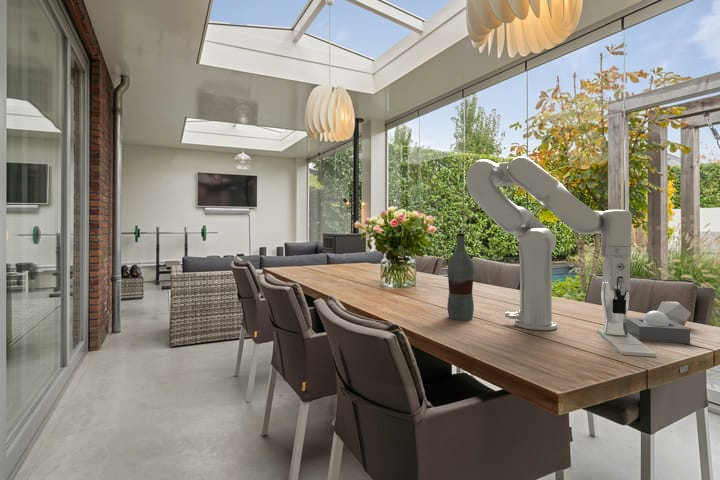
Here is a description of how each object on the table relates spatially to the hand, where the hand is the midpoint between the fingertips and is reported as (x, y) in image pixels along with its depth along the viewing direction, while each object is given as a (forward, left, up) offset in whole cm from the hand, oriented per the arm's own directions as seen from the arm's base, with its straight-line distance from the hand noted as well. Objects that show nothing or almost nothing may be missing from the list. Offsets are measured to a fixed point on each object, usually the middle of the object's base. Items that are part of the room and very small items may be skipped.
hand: (613, 309), depth 121 cm
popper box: (+11, +2, -8) cm, 14 cm away
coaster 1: (0, 0, -8) cm, 8 cm away
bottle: (-45, +12, -8) cm, 47 cm away
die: (+21, +18, -8) cm, 29 cm away
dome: (+11, +2, -6) cm, 13 cm away
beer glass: (0, -1, -7) cm, 7 cm away
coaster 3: (0, -16, -8) cm, 18 cm away
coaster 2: (0, -8, -8) cm, 11 cm away
